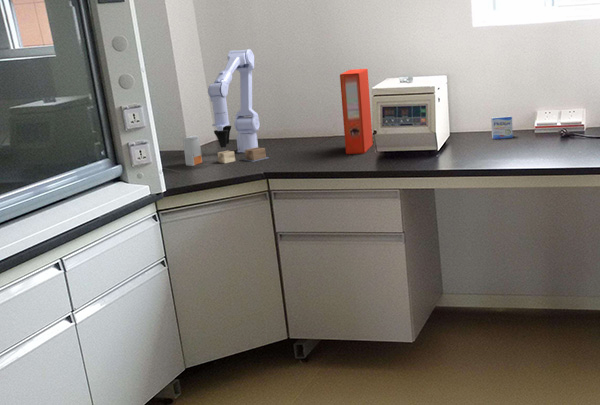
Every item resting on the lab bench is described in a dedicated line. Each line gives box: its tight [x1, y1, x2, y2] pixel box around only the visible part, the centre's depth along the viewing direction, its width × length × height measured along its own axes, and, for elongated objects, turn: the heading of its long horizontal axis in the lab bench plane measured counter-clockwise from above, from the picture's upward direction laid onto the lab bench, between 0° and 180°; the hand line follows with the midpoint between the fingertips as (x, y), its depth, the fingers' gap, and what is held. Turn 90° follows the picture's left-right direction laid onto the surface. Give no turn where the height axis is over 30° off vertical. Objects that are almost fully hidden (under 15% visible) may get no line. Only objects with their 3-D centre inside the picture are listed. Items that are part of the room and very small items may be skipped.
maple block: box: [217, 150, 236, 164], centre depth 321 cm, size 5×5×4 cm
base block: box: [245, 146, 267, 162], centre depth 320 cm, size 6×6×4 cm
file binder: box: [339, 68, 374, 155], centre depth 317 cm, size 8×17×32 cm, turn 164°
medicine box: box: [490, 115, 514, 140], centre depth 313 cm, size 8×4×9 cm, turn 81°
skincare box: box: [182, 135, 203, 167], centre depth 323 cm, size 6×4×12 cm
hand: (224, 145), depth 320 cm, fingers open, 7 cm apart
